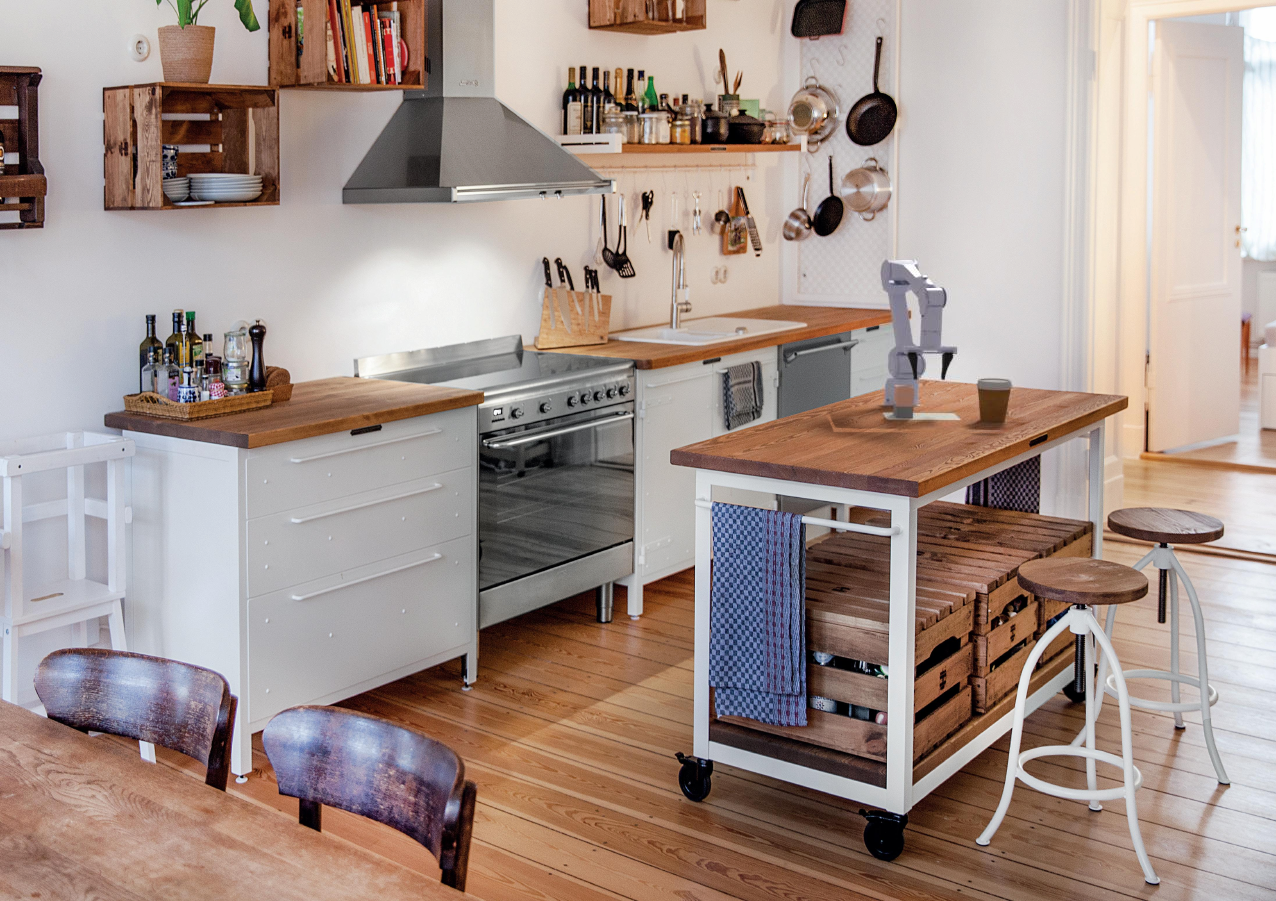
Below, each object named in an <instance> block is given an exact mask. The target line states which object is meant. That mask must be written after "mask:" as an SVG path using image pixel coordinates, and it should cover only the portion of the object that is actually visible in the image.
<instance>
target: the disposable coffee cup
mask: <svg viewBox="0 0 1276 901" xmlns="http://www.w3.org/2000/svg"><path fill="white" fill-rule="evenodd" d="M975 385H976V388H977V392H978V393H977V396H978V408H979V409H978V410H979V420H980V421H981V422H984V423H1004V422H1006V418H1007V412H1008V406H1009V400H1010V394H1011V390H1012V387H1013V384H1012V380H1011V379H1007V378H998V377H997V378H995V377H993V378H991V377H990V378H989V377H987V378H978V379H977V383H976V384H975Z"/></svg>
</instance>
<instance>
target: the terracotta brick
mask: <svg viewBox="0 0 1276 901" xmlns="http://www.w3.org/2000/svg"><path fill="white" fill-rule="evenodd" d="M894 404H895V405H896V406H897V407H913V408H914V407H915V406H914V388H913V387H912V386H911V385H895V386H894Z"/></svg>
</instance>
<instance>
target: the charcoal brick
mask: <svg viewBox="0 0 1276 901" xmlns="http://www.w3.org/2000/svg"><path fill="white" fill-rule="evenodd" d="M892 413H893V414H894V416H895V417H896V418H913V413H914V406H913V407H897V406H896V405H895V404H894V405H893V412H892Z"/></svg>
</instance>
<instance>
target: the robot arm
mask: <svg viewBox="0 0 1276 901" xmlns="http://www.w3.org/2000/svg"><path fill="white" fill-rule="evenodd" d="M919 270H920V269H919V264H918V261H917V260H916V259H914V258H912V259H885V260H883V262H882V264H881V268H880V278H881V279H880V280H881V285H882V289H883V291H884V292H886V293H887V295H888V303H889V307H890V308H889V309H890V315H891V322H892V328H893V334H894V339H895V346H894V347H893V348H892V349H890V351H889V352H888V355H887V357H888V358H887V359H888V362H887V369H888V373H889V374H890V376H889V377H888V378H887V379H886V382H885V383H884V384H885V385H884V402H883V403H884V404H882V406H894V386H895V385H911V386H912V387H913V388H914V406H913V407H915V406H916V407H918V406H919V407H923V406H924V405H922V404H919V388H920V386H919V384H920V379H921V378H922V376H924V373H925V372H926V370H927V361H926V358H925V354H926V355H927V354H928V355H929V354H931V355H933V354H934V355H935V354H936V355H937V354H939V355H941V372H940V373H941V374H940V375H941V376H940V379H941V381H945V380H946V376H947V372H948V370H949V367H950V365H951V363H952V361H953V359H954V355H958V347H957V346H945V345H943V346H942V332H943V331H942V327H943V326H942V325H943V309H944V308H945V307H946V305H947V301H948V297H947V296H948V295H947V291H946V289H945V287H943V286H941V287H937V286H936V285H935V284H934V283H933V282H932V281H931V280H930V279H929V277H928V276H927V275H921V273H920V271H919ZM909 291H912V293H913V294H914V296H916V298H917V302H918V306H919V308H918V309H919V314H920V315H921V316H920V334H919V335H920V337H919V338H920V340H919V345H917V344H915V343H914V342H913V340H914V339H913V334H912V328H911V323H910V317H909V316H910V315H909V309H908V303H907V297H906V294H907V293H908V292H909Z"/></svg>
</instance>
